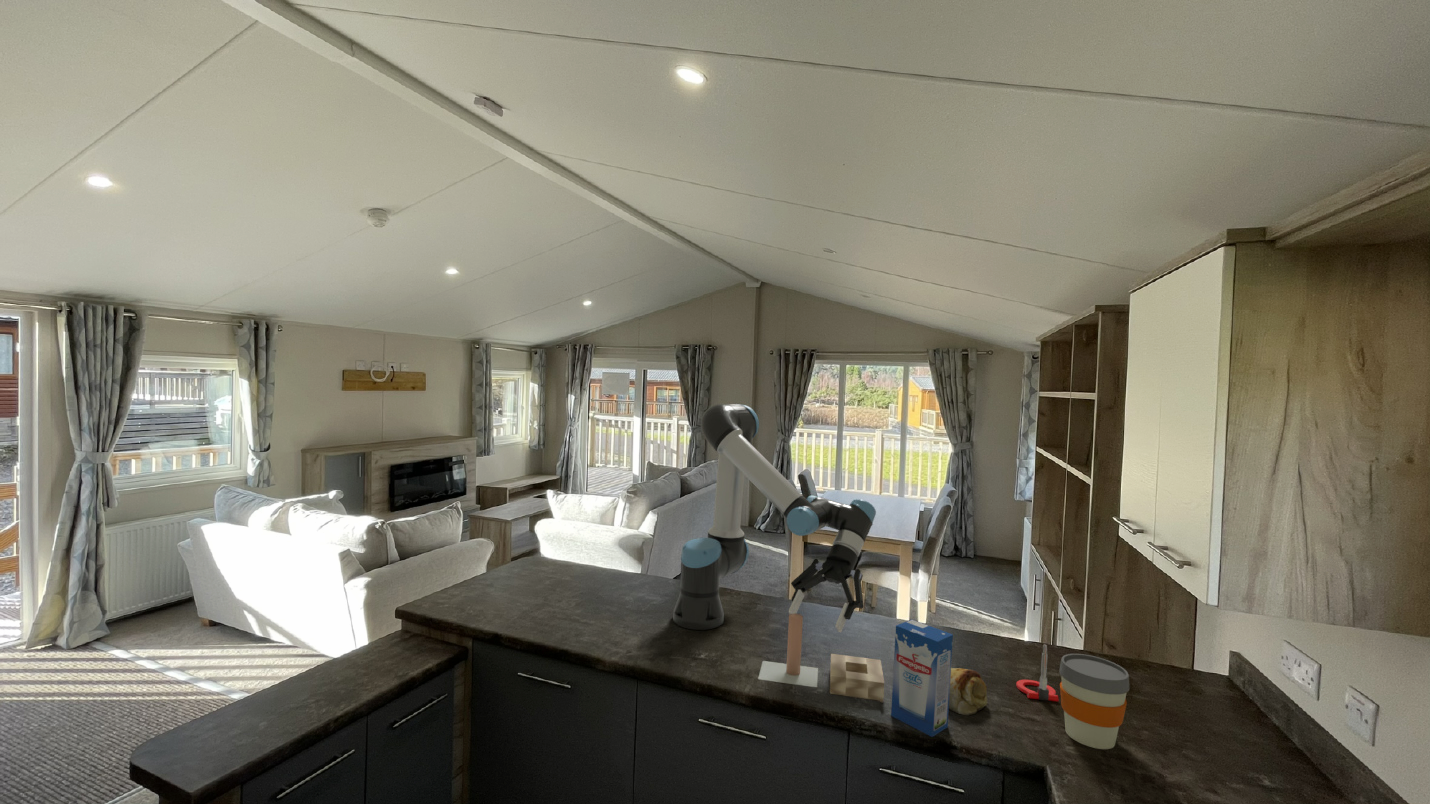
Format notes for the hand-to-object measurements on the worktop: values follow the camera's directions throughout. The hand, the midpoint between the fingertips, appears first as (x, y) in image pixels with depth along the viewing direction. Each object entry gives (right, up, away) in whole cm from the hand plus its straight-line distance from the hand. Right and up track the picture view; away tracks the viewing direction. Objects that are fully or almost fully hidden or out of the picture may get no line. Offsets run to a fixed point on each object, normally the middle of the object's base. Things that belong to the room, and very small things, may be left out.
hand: (814, 621), depth 153 cm
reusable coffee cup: (+54, -15, -25) cm, 62 cm away
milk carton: (+19, -14, -22) cm, 32 cm away
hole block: (+9, -13, -8) cm, 17 cm away
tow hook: (+53, -15, -6) cm, 55 cm away
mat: (-7, -12, -4) cm, 14 cm away
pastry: (+31, -14, -12) cm, 36 cm away
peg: (-6, -11, -3) cm, 13 cm away
